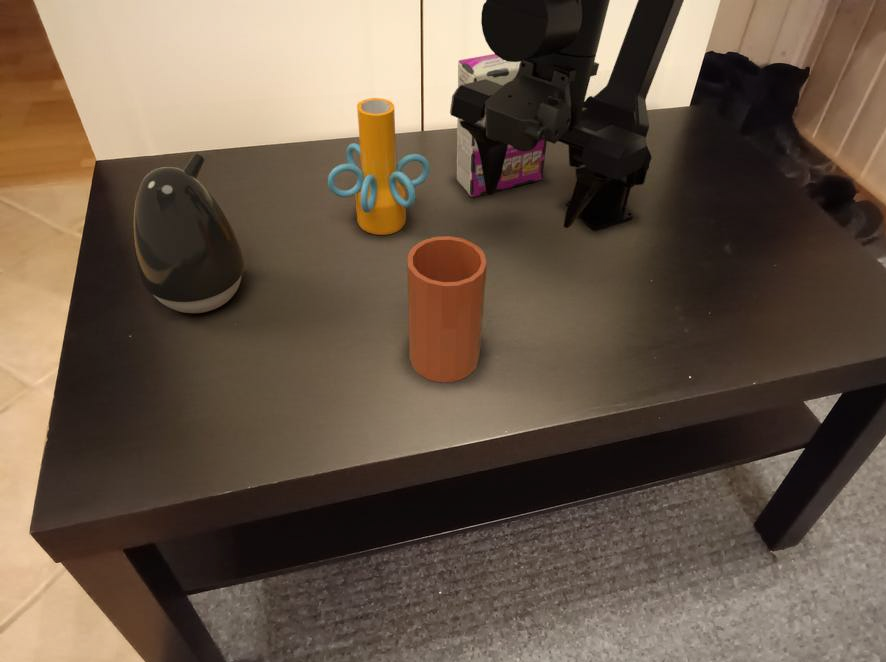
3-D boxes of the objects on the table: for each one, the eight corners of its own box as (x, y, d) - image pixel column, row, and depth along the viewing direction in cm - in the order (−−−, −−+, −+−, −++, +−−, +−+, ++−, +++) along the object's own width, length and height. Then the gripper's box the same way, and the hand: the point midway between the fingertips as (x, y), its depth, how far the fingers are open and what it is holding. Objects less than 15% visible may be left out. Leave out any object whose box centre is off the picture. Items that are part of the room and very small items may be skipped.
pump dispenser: (269, 278, 78) (244, 155, 67) (215, 338, 71) (177, 213, 60) (190, 255, 80) (153, 133, 69) (130, 312, 73) (78, 186, 62)
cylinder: (409, 258, 82) (407, 141, 71) (324, 243, 83) (309, 126, 72) (435, 201, 90) (436, 89, 79) (357, 188, 91) (348, 75, 80)
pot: (458, 325, 75) (462, 228, 66) (491, 368, 71) (500, 271, 62) (398, 346, 72) (394, 248, 63) (429, 392, 68) (429, 294, 59)
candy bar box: (524, 163, 98) (538, 44, 86) (543, 181, 95) (559, 60, 83) (453, 179, 94) (456, 57, 82) (469, 199, 91) (476, 75, 79)
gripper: (425, 26, 59) (406, 196, 69) (621, 93, 52) (571, 273, 62) (495, 17, 67) (470, 171, 77) (673, 74, 60) (622, 236, 70)
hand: (527, 209), depth 71 cm, fingers open, 9 cm apart
